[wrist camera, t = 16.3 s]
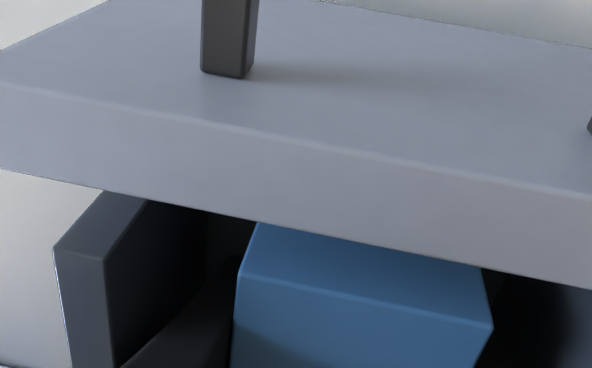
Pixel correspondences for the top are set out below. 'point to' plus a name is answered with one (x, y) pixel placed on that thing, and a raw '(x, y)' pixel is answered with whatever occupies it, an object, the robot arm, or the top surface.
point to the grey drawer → (305, 156)
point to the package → (353, 306)
